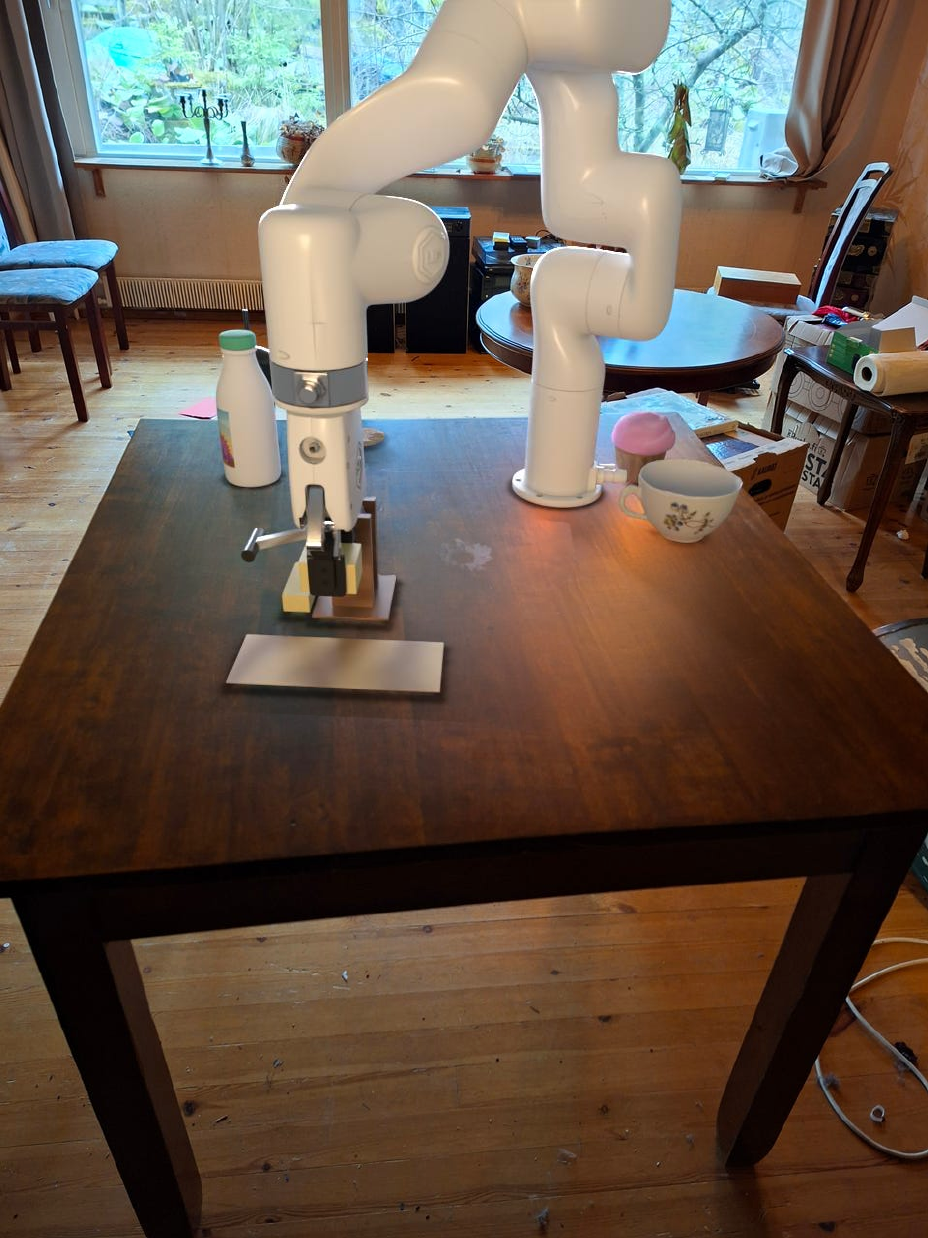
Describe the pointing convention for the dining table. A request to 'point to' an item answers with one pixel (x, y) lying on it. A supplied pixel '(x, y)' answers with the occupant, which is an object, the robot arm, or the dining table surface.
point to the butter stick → (296, 594)
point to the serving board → (338, 663)
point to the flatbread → (372, 436)
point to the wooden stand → (363, 578)
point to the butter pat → (351, 564)
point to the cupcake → (641, 441)
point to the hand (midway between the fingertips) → (332, 579)
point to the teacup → (683, 497)
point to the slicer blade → (273, 540)
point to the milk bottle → (246, 414)
